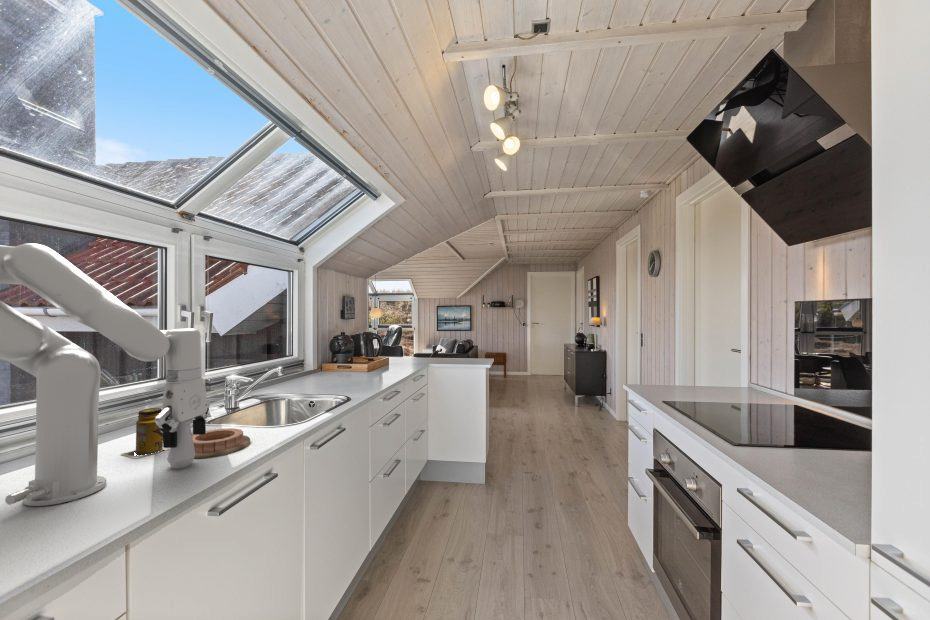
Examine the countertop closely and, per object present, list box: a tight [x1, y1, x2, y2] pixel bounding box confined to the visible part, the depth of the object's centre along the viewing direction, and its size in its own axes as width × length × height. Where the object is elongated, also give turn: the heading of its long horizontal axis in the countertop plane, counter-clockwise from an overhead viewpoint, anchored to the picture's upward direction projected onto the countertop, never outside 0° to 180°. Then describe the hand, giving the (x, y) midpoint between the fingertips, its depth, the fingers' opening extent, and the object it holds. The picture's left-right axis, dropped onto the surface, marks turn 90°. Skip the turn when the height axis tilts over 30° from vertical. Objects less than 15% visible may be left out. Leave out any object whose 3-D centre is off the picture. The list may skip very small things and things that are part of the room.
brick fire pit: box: [192, 427, 251, 460], centre depth 113 cm, size 18×18×4 cm
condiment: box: [120, 407, 169, 460], centre depth 109 cm, size 7×8×12 cm
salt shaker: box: [167, 418, 195, 470], centre depth 99 cm, size 6×6×13 cm
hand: (185, 440), depth 100 cm, fingers open, 9 cm apart
